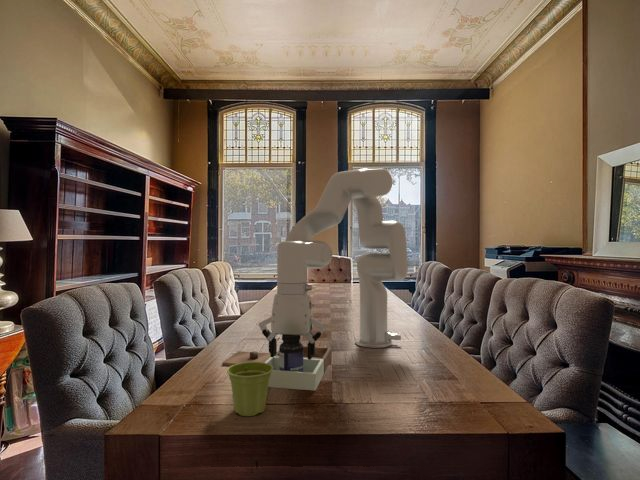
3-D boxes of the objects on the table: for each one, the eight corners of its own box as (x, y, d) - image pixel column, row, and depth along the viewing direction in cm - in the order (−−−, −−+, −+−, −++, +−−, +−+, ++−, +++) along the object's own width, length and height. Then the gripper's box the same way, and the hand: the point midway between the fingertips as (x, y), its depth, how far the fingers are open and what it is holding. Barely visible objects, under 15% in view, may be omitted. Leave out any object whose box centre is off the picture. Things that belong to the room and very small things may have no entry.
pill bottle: (306, 375, 97) (306, 332, 98) (298, 383, 92) (298, 338, 92) (284, 372, 99) (284, 330, 99) (275, 380, 94) (275, 336, 94)
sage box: (323, 374, 100) (323, 359, 100) (315, 390, 88) (315, 373, 88) (271, 370, 102) (271, 356, 102) (256, 386, 91) (256, 370, 91)
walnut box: (331, 359, 113) (331, 347, 113) (324, 372, 101) (324, 358, 101) (284, 356, 115) (284, 345, 115) (272, 368, 104) (272, 356, 104)
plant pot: (230, 401, 82) (230, 361, 82) (273, 400, 83) (273, 360, 83) (222, 421, 73) (223, 376, 73) (271, 420, 73) (272, 375, 74)
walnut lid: (283, 356, 115) (283, 348, 115) (271, 368, 104) (271, 359, 104) (238, 353, 118) (238, 346, 118) (222, 365, 107) (222, 356, 107)
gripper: (327, 288, 98) (327, 354, 97) (264, 287, 101) (264, 351, 101) (322, 292, 90) (322, 363, 90) (254, 290, 93) (254, 359, 93)
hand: (291, 356), depth 95 cm, fingers open, 9 cm apart
